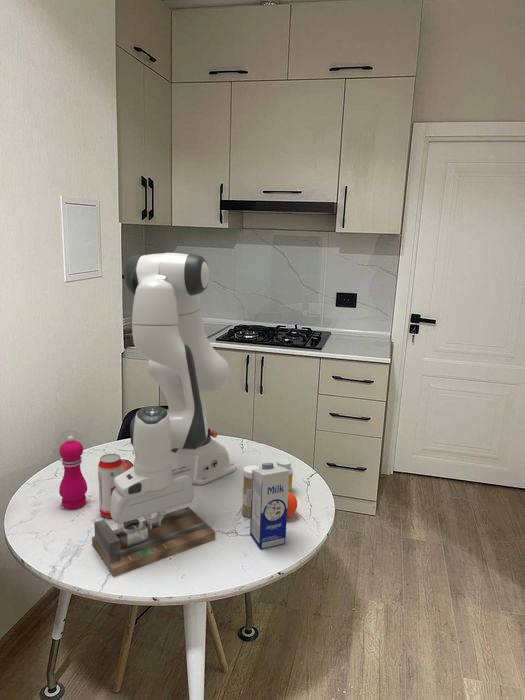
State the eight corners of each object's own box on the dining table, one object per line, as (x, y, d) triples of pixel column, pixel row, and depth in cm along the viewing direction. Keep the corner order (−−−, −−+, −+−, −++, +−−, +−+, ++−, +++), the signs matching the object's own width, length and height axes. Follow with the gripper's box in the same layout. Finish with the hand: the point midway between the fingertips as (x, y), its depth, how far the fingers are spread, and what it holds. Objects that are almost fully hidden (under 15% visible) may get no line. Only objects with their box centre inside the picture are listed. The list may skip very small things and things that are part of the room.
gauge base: (188, 513, 142) (188, 489, 140) (215, 539, 131) (215, 513, 129) (92, 544, 127) (91, 518, 125) (113, 576, 116) (112, 548, 114)
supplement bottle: (275, 496, 152) (276, 466, 150) (271, 487, 158) (273, 457, 155) (293, 495, 153) (295, 465, 151) (289, 486, 159) (290, 457, 156)
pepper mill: (79, 512, 140) (75, 442, 136) (54, 508, 142) (50, 439, 137) (93, 499, 147) (90, 432, 143) (69, 495, 149) (65, 429, 144)
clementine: (299, 524, 139) (300, 500, 137) (272, 525, 138) (273, 500, 136) (294, 508, 146) (296, 485, 145) (270, 508, 146) (271, 485, 144)
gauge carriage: (138, 531, 129) (137, 515, 128) (153, 550, 122) (153, 533, 121) (118, 537, 126) (117, 521, 125) (133, 557, 119) (132, 540, 118)
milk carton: (259, 549, 127) (262, 474, 123) (249, 534, 133) (251, 462, 129) (286, 543, 130) (290, 469, 125) (274, 529, 136) (278, 457, 131)
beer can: (128, 509, 143) (127, 455, 139) (115, 521, 137) (113, 465, 133) (109, 505, 145) (107, 451, 141) (94, 516, 139) (92, 460, 135)
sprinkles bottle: (242, 509, 145) (243, 464, 142) (258, 509, 145) (260, 464, 142) (241, 518, 141) (242, 471, 138) (258, 518, 141) (260, 472, 138)
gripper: (186, 459, 133) (186, 508, 137) (106, 480, 122) (108, 533, 125) (198, 469, 128) (198, 520, 132) (116, 492, 117) (118, 547, 120)
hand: (154, 527), depth 128 cm, fingers closed
